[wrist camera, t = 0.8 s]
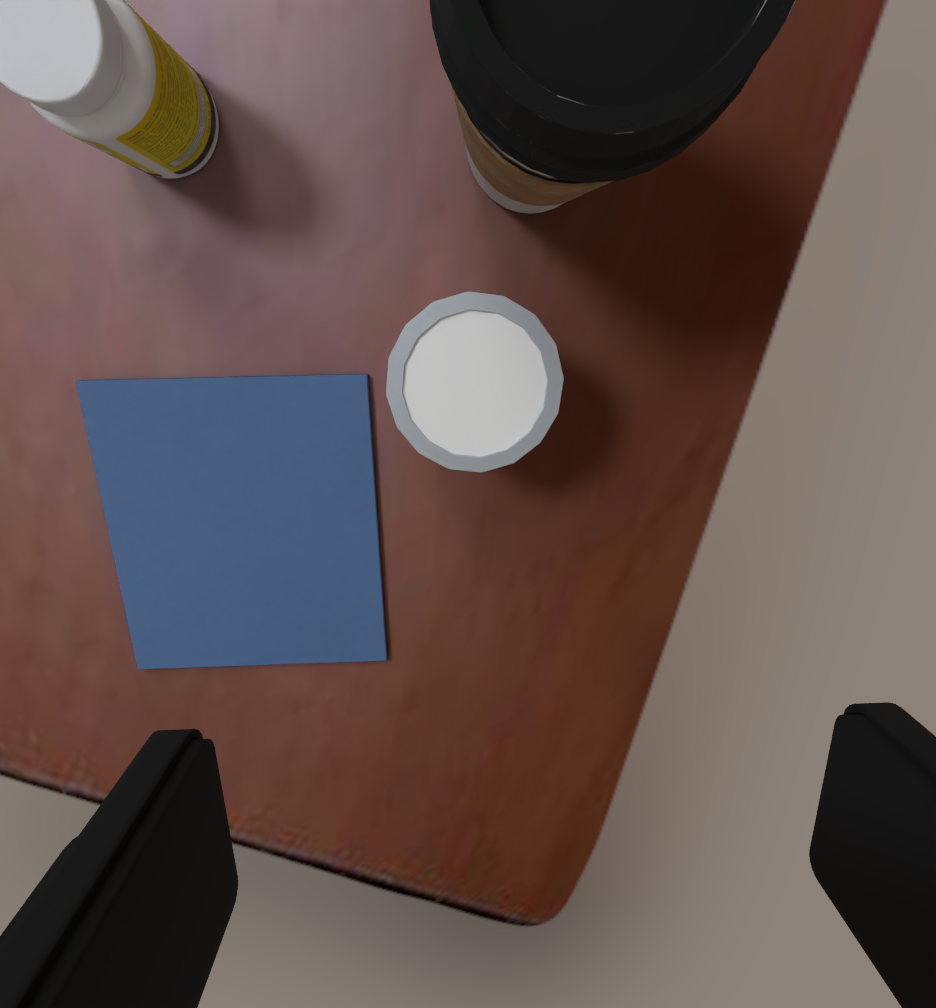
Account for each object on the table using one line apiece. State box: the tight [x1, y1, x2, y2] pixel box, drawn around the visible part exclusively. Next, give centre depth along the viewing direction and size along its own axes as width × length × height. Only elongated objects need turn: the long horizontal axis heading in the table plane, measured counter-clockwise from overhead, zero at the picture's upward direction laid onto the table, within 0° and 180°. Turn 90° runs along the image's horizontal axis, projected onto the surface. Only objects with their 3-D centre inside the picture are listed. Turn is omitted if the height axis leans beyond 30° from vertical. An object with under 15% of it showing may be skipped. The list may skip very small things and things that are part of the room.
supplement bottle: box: [0, 0, 219, 179], centre depth 21 cm, size 5×5×8 cm
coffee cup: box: [430, 0, 795, 214], centre depth 19 cm, size 8×8×15 cm
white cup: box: [386, 292, 564, 472], centre depth 26 cm, size 7×7×7 cm
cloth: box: [76, 374, 387, 669], centre depth 31 cm, size 16×14×1 cm
